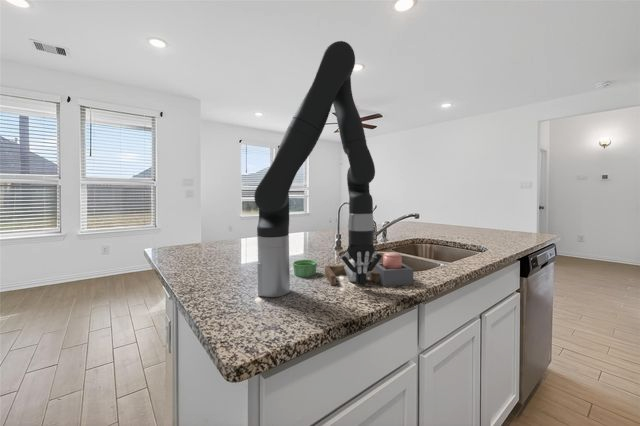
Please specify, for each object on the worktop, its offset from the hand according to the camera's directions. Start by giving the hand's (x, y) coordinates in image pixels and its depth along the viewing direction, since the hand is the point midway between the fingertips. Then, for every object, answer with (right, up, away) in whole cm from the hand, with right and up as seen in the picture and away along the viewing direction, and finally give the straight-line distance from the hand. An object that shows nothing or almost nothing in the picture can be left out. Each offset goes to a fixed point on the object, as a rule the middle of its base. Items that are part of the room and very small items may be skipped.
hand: (361, 284), depth 85 cm
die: (0, -1, +9) cm, 9 cm away
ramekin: (-18, -1, +18) cm, 26 cm away
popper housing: (+12, -1, +9) cm, 15 cm away
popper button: (+12, +3, +9) cm, 15 cm away
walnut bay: (-2, -1, +12) cm, 13 cm away
